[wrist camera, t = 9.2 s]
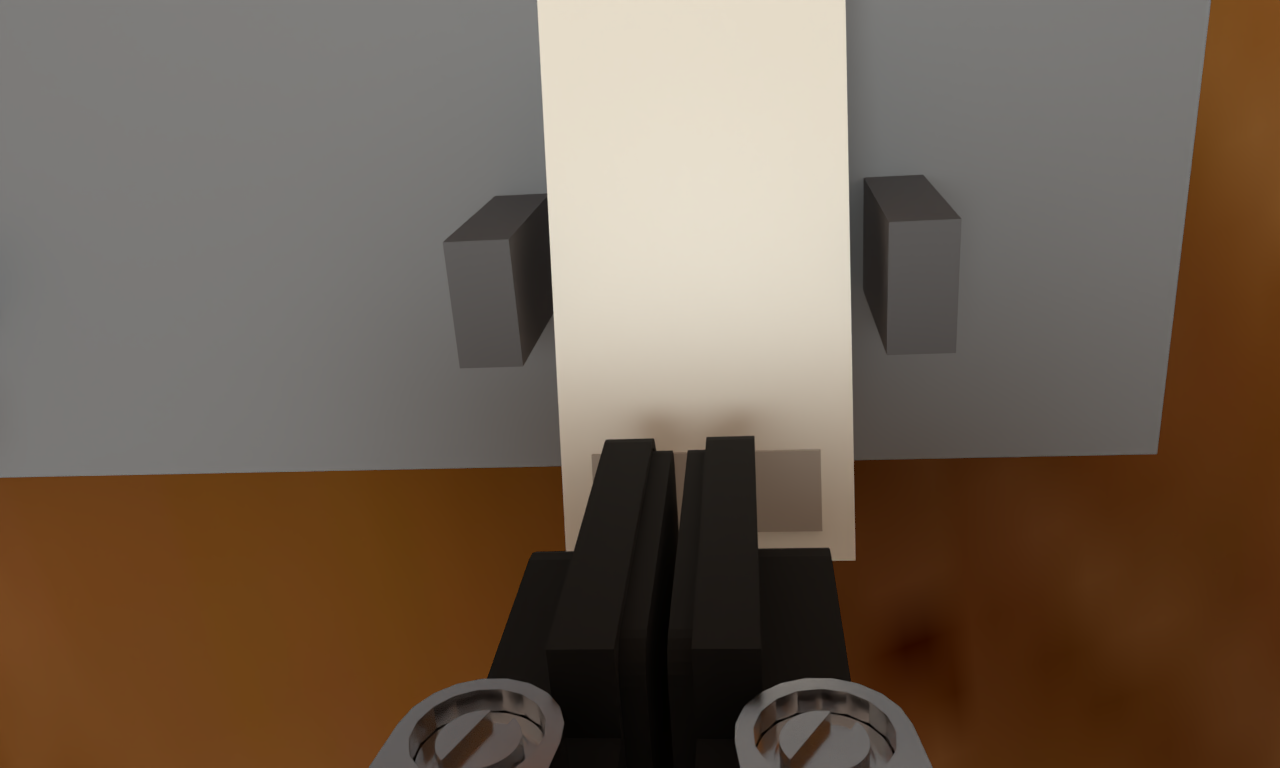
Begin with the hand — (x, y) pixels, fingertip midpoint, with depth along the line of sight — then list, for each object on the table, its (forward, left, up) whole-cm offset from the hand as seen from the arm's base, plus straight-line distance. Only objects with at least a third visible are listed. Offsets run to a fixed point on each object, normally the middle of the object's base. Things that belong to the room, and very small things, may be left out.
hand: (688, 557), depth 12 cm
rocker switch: (0, -3, -3) cm, 4 cm away
